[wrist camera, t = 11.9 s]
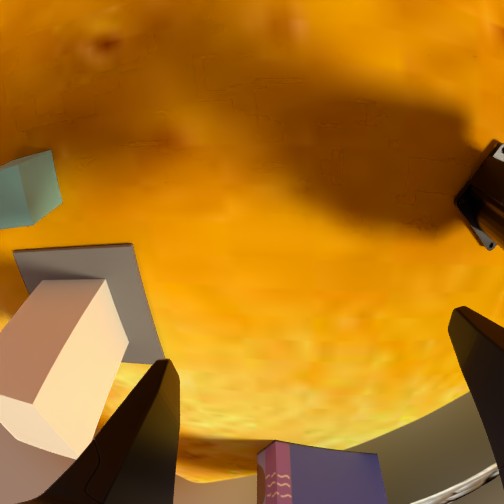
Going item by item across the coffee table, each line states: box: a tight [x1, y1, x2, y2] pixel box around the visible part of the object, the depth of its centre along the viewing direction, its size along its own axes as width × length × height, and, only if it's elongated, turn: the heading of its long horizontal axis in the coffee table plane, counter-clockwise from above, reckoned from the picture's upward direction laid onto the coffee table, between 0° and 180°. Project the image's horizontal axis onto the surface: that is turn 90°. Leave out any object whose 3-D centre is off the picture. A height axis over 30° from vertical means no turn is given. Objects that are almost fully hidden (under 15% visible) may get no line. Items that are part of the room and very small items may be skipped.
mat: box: [13, 244, 165, 364], centre depth 25 cm, size 12×12×1 cm
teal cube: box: [0, 150, 63, 229], centre depth 18 cm, size 4×4×4 cm
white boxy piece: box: [0, 279, 129, 459], centre depth 19 cm, size 7×7×12 cm
